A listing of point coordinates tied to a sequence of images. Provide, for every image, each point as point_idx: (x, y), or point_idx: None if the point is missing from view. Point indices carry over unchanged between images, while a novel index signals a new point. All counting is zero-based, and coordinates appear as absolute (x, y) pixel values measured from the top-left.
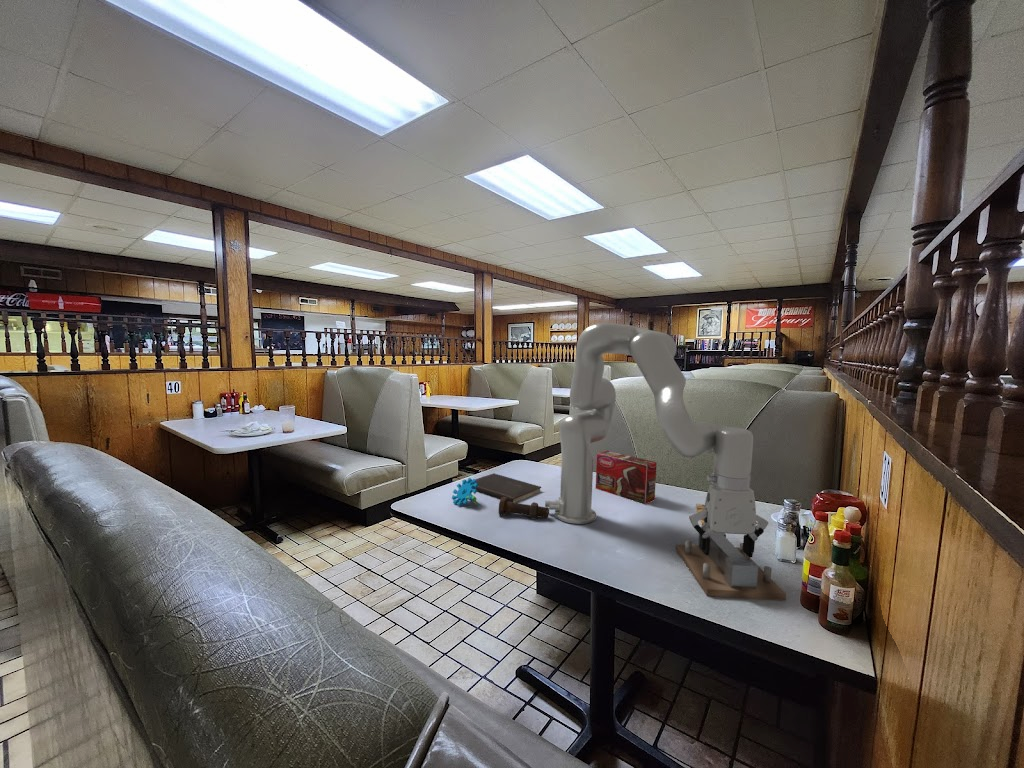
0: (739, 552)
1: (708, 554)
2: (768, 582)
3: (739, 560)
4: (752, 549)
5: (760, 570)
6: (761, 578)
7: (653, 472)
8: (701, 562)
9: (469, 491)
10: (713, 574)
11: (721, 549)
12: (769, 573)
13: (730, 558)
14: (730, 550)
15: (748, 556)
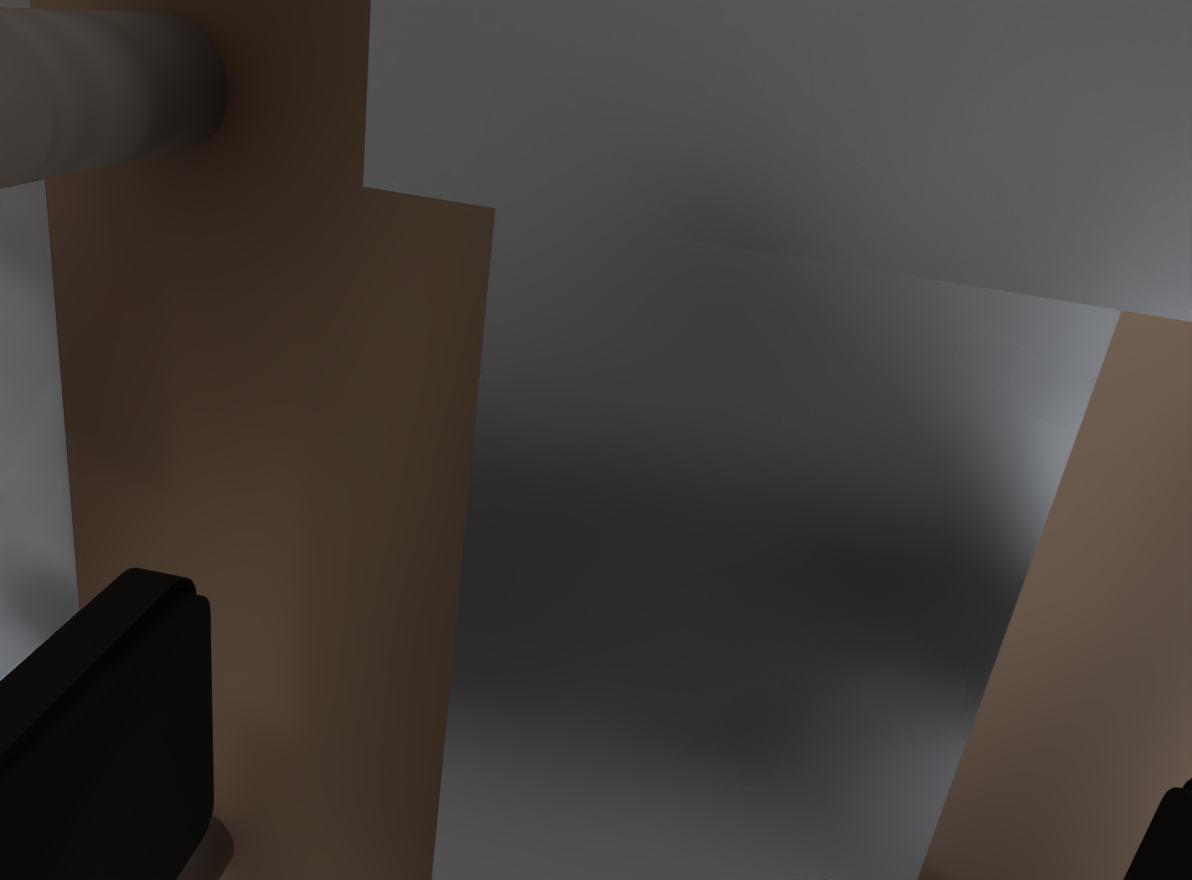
0: (493, 598)
1: (1187, 792)
2: (162, 15)
3: (885, 65)
4: (11, 687)
5: (108, 435)
6: (225, 175)
7: None
8: (1032, 769)
9: None
10: (1124, 384)
11: (929, 825)
12: (31, 10)
13: (1139, 247)
14: (702, 734)
15: (206, 605)
